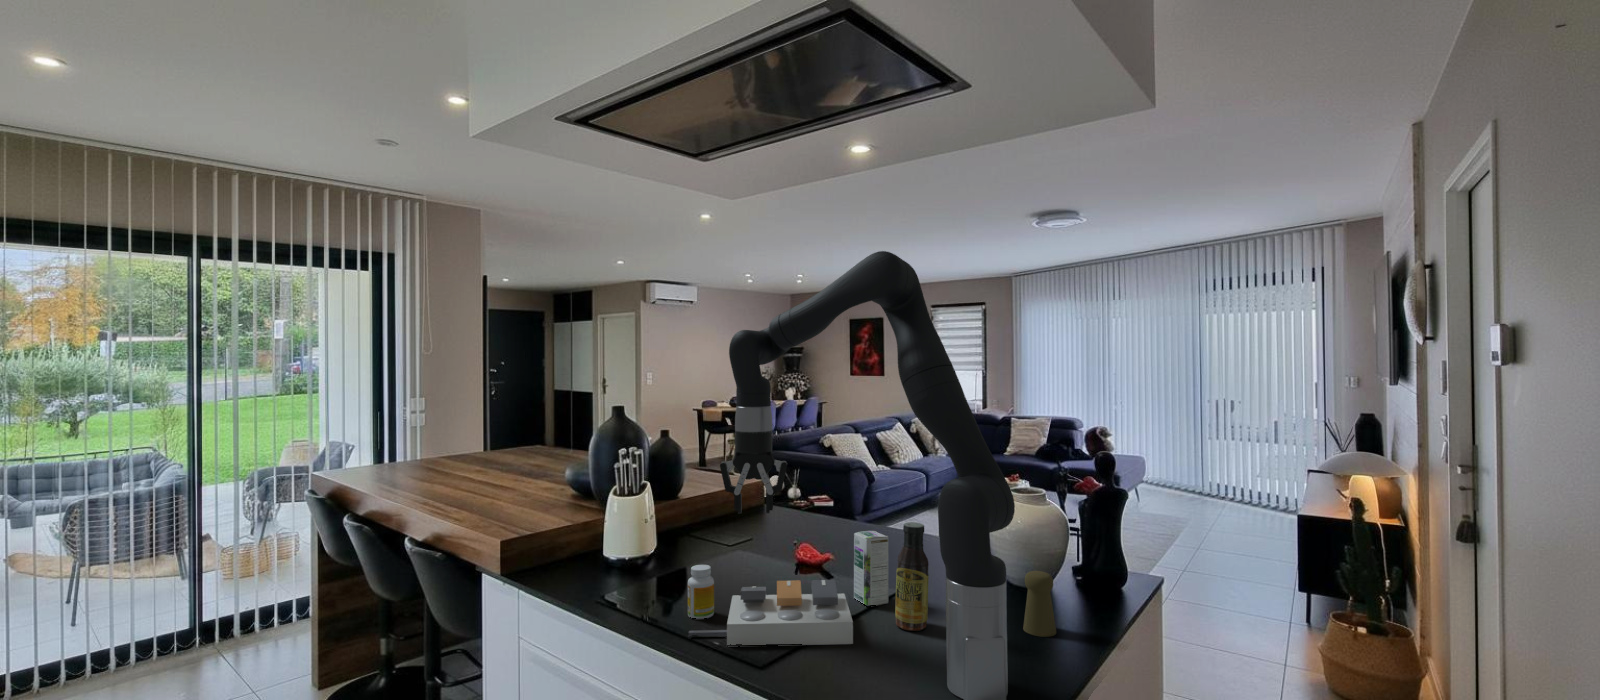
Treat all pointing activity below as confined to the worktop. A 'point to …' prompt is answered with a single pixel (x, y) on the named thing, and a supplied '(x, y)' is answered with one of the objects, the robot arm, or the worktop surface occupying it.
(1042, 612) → the yellow pepper mill
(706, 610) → the supplement bottle
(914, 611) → the sauce bottle
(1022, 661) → the worktop surface
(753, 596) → the block
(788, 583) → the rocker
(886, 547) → the syrup box
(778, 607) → the power strip
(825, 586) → the block
